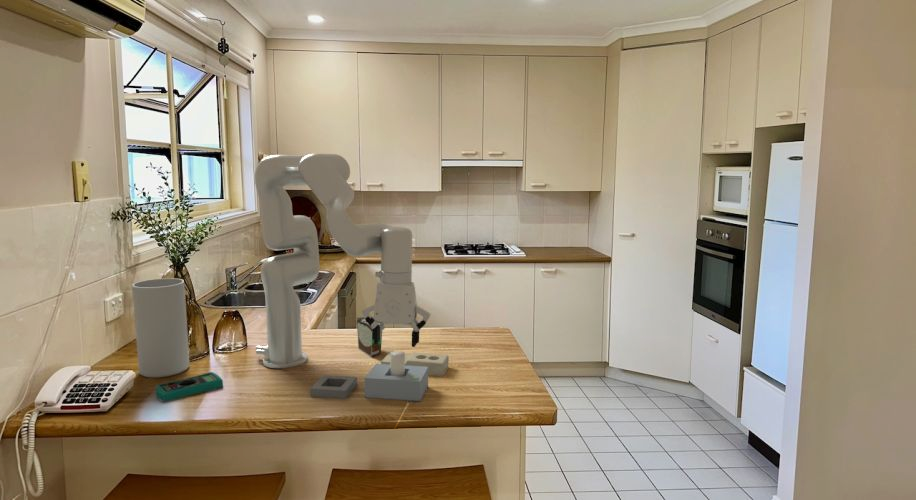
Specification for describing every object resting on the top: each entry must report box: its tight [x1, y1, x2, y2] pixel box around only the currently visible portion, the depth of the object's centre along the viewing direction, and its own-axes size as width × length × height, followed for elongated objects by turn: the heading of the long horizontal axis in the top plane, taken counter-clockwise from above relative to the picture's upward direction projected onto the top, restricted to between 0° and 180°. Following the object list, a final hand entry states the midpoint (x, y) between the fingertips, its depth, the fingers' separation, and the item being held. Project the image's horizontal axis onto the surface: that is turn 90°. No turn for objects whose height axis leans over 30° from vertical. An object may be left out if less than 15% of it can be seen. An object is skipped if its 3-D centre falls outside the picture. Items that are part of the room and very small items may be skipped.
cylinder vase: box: [131, 277, 190, 379], centre depth 153 cm, size 12×12×25 cm
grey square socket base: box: [309, 374, 358, 400], centre depth 141 cm, size 9×9×2 cm
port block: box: [364, 363, 429, 404], centre depth 140 cm, size 14×10×6 cm
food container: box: [355, 316, 385, 358], centre depth 171 cm, size 12×6×10 cm, turn 34°
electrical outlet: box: [380, 352, 450, 377], centre depth 157 cm, size 7×4×18 cm
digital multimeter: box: [155, 371, 224, 403], centre depth 141 cm, size 7×15×3 cm, turn 132°
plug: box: [389, 350, 406, 377], centre depth 140 cm, size 4×4×10 cm
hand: (395, 343), depth 139 cm, fingers open, 9 cm apart
